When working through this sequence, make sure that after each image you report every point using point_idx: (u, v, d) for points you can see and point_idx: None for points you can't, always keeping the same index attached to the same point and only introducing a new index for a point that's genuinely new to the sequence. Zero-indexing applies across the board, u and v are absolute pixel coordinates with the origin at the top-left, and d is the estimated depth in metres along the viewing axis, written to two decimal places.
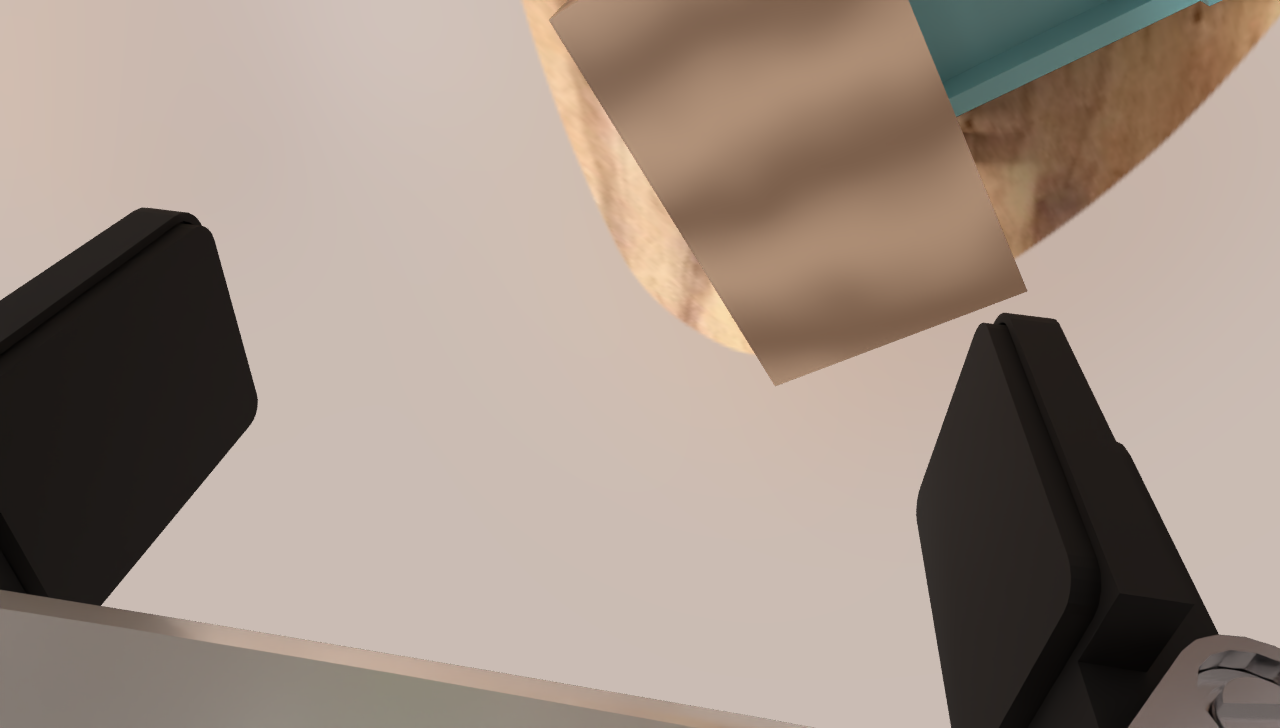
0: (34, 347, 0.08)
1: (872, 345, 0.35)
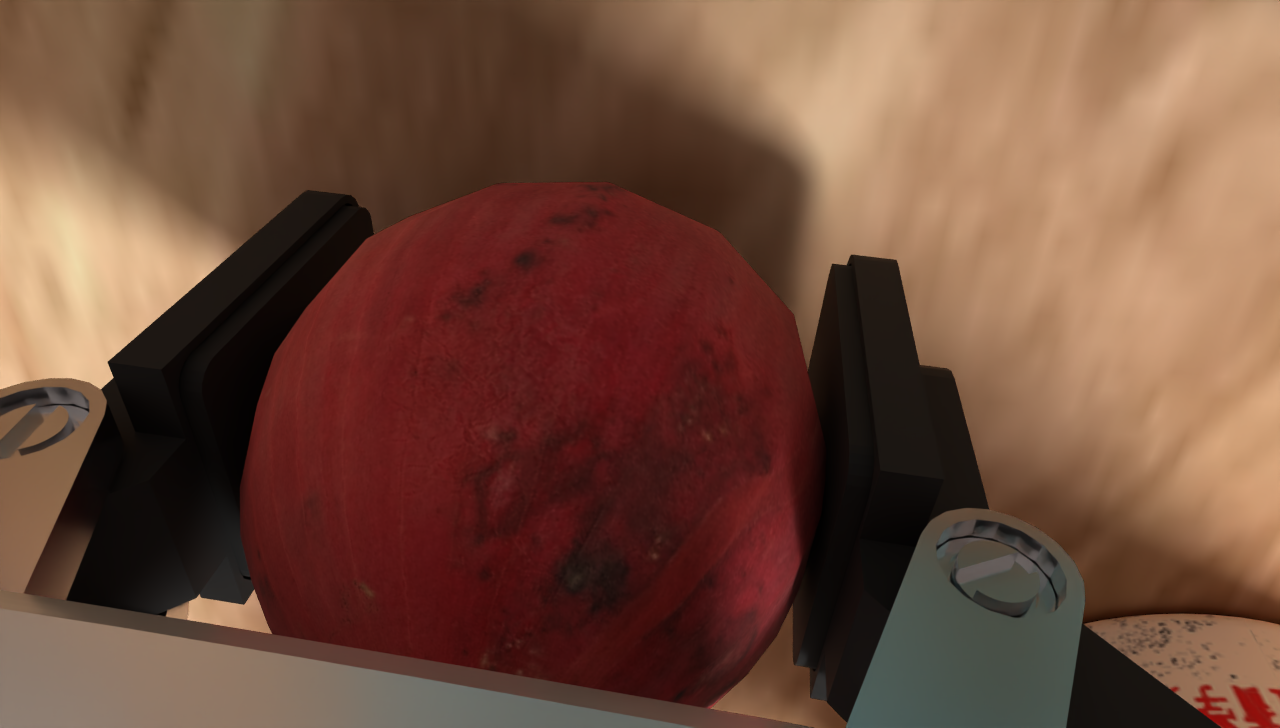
0: (249, 315, 0.08)
1: None
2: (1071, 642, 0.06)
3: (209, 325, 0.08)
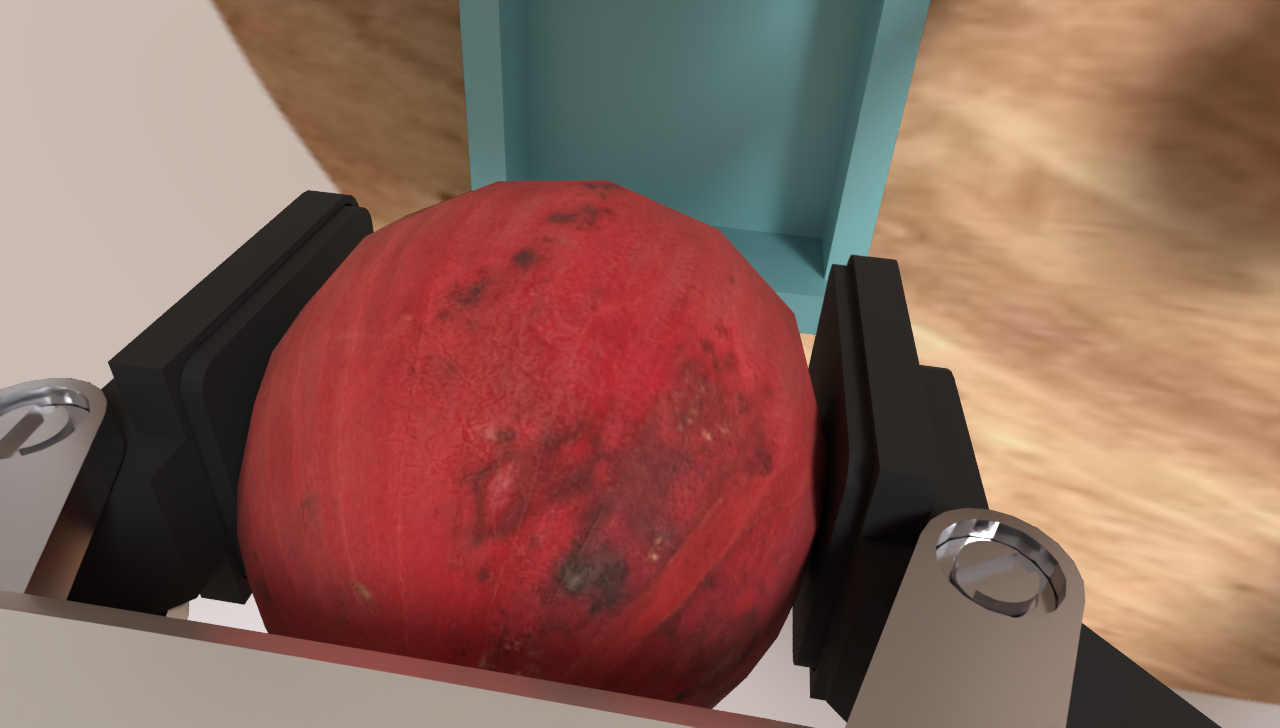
0: (250, 315, 0.08)
1: None
2: (1071, 642, 0.06)
3: (209, 325, 0.08)
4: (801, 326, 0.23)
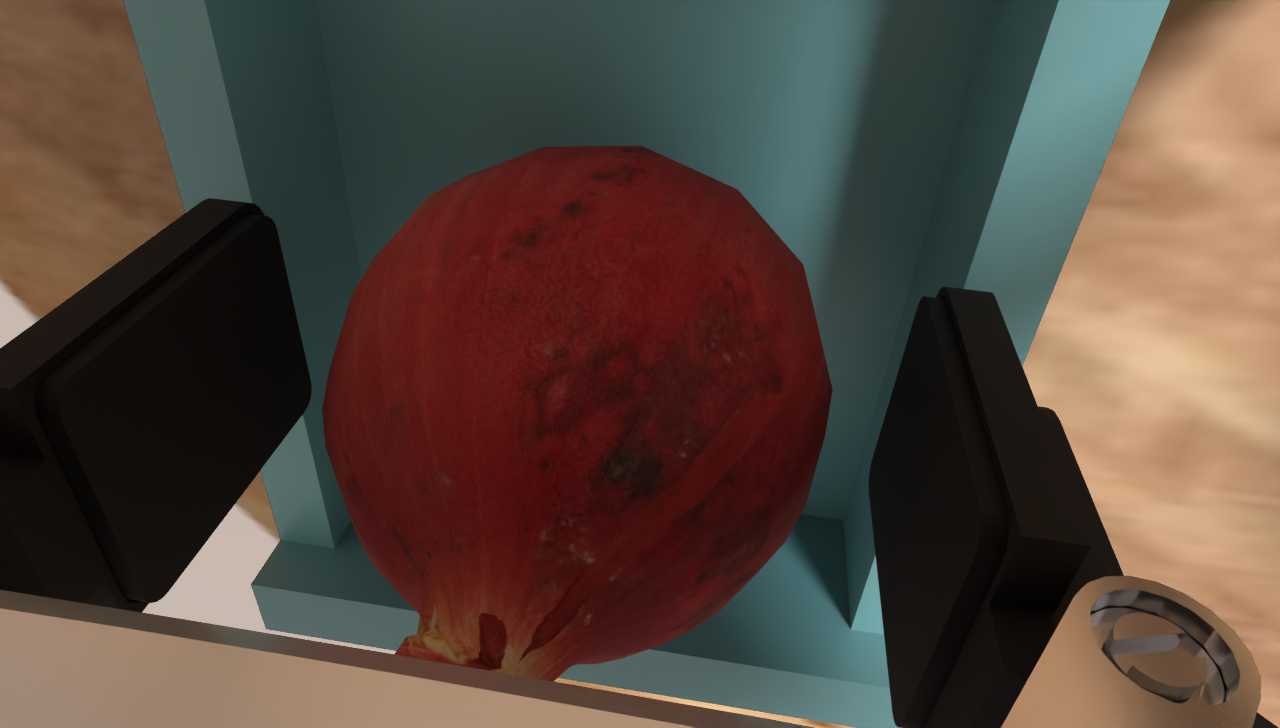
0: (122, 330, 0.08)
1: None
2: None
3: (72, 341, 0.07)
4: (812, 712, 0.14)
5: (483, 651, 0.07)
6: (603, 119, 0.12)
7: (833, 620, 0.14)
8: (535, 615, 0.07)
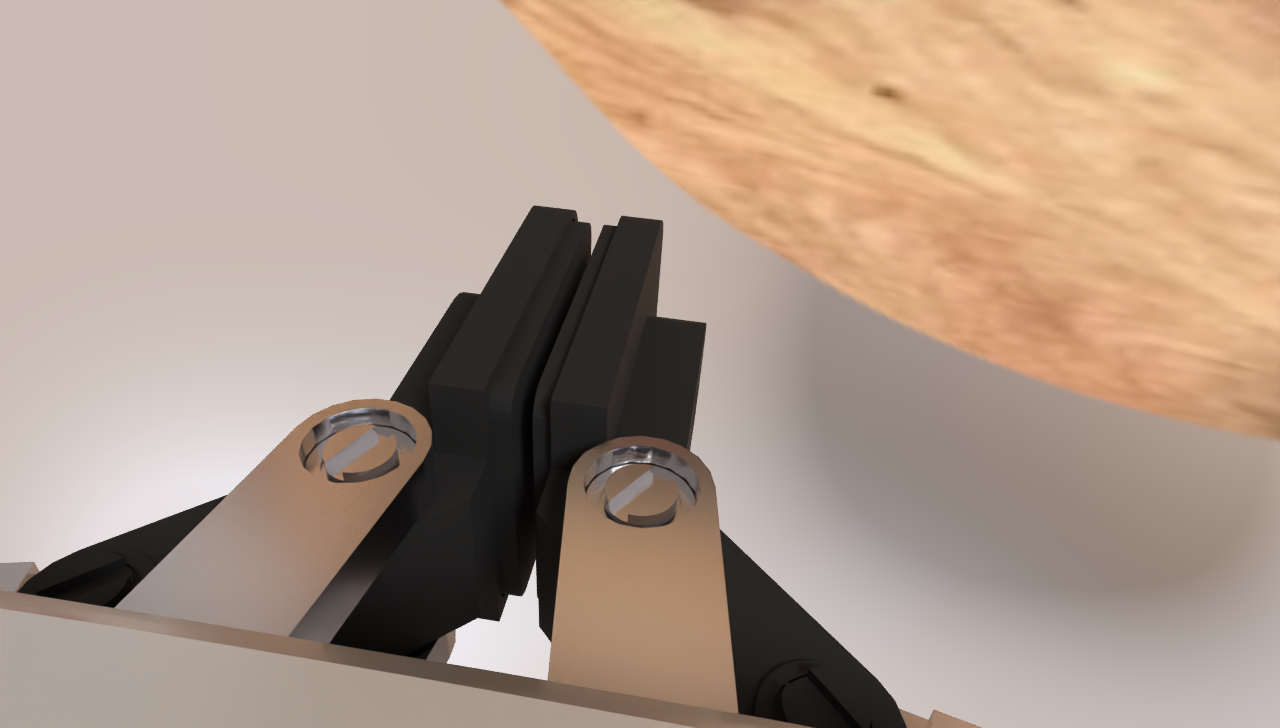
0: (531, 334, 0.08)
1: None
2: (713, 528, 0.06)
3: (506, 344, 0.08)
4: None
5: None
6: None
7: None
8: None
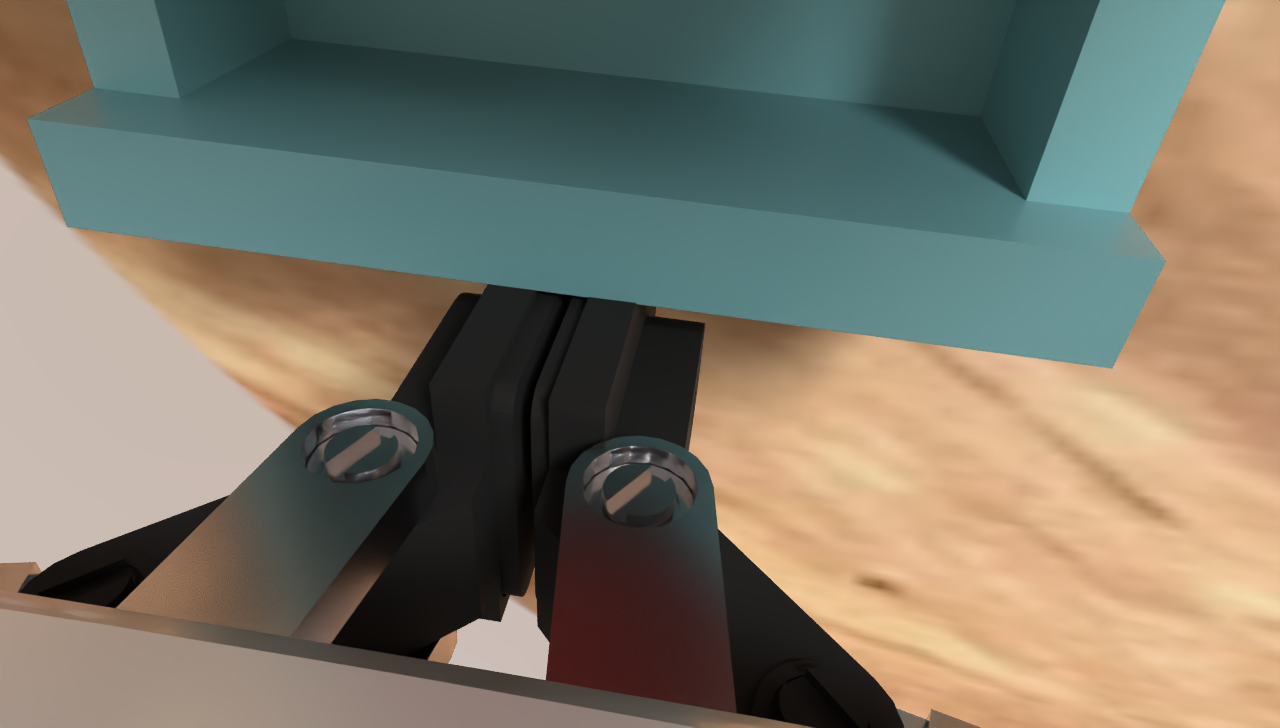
0: (533, 334, 0.08)
1: None
2: (711, 528, 0.06)
3: (507, 345, 0.08)
4: (965, 330, 0.08)
5: None
6: None
7: (995, 191, 0.08)
8: None
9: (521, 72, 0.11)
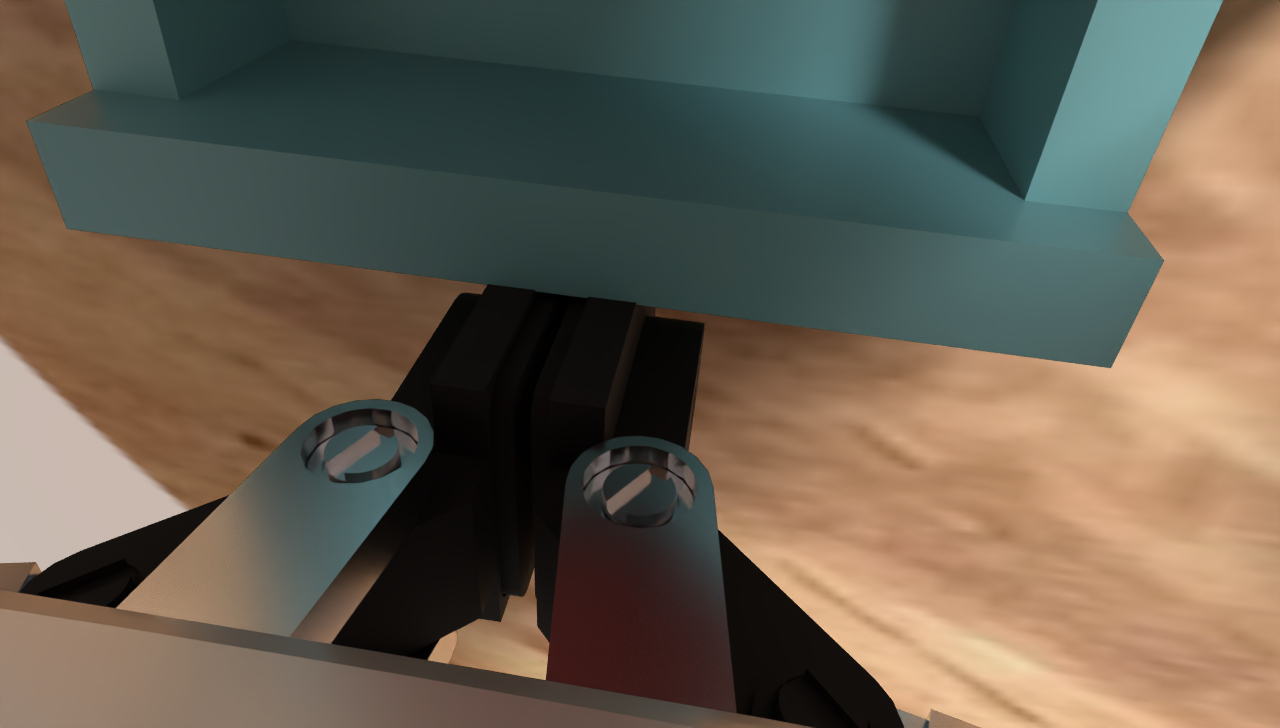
0: (532, 334, 0.08)
1: None
2: (711, 528, 0.06)
3: (507, 345, 0.08)
4: (963, 330, 0.08)
5: None
6: None
7: (993, 191, 0.08)
8: None
9: (520, 73, 0.11)
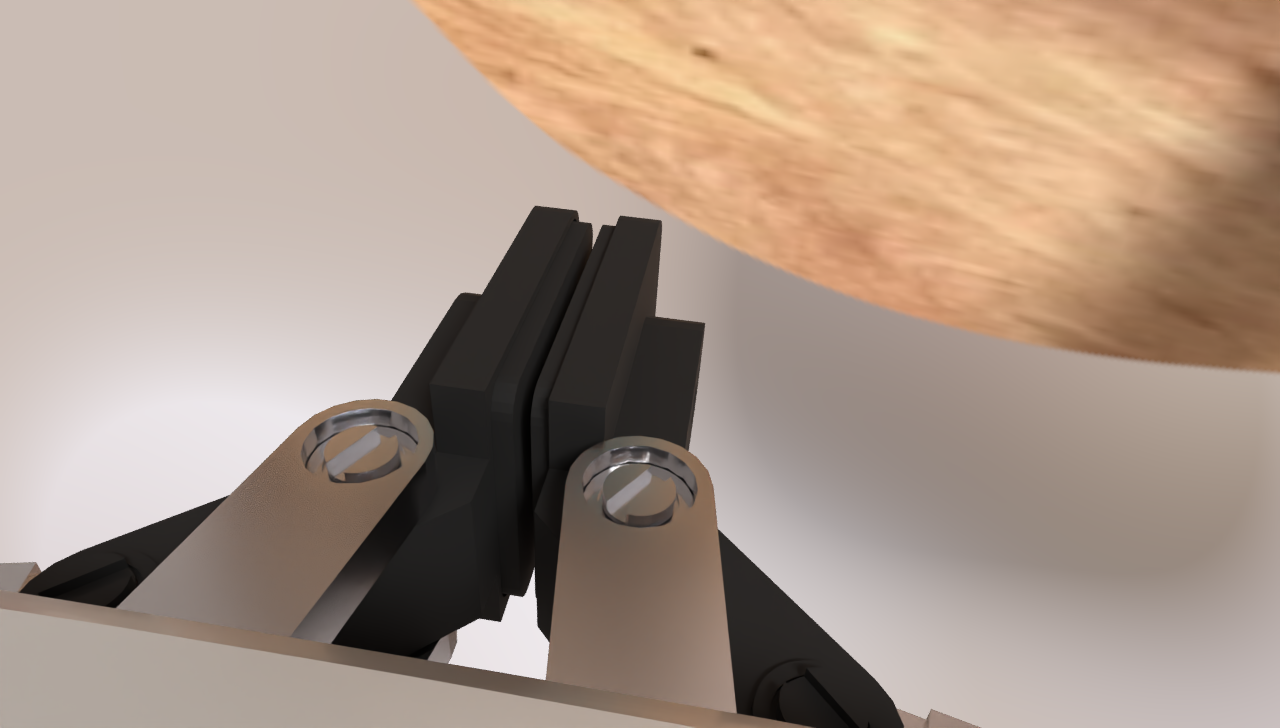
0: (533, 334, 0.08)
1: None
2: (711, 528, 0.06)
3: (508, 345, 0.08)
4: None
5: None
6: None
7: None
8: None
9: None
